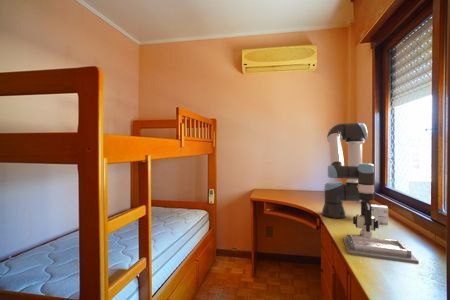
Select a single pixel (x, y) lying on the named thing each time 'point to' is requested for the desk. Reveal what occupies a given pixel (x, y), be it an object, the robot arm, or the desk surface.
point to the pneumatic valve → (360, 220)
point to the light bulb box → (380, 213)
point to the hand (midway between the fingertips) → (366, 235)
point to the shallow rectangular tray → (378, 245)
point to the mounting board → (379, 254)
